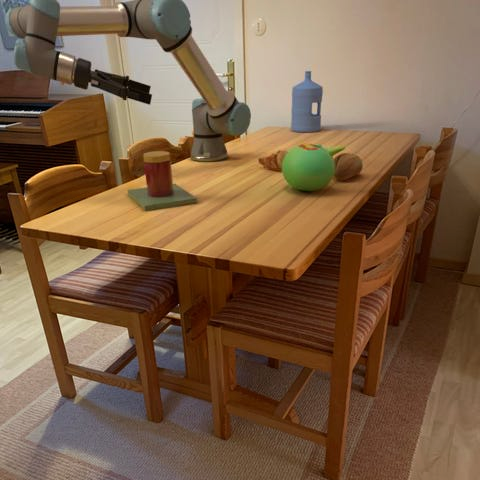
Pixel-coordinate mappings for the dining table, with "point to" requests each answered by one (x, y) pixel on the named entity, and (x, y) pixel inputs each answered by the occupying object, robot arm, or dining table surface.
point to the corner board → (161, 198)
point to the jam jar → (159, 179)
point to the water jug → (306, 105)
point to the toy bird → (309, 166)
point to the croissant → (273, 161)
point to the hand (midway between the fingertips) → (150, 95)
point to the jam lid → (156, 156)
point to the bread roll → (347, 166)
